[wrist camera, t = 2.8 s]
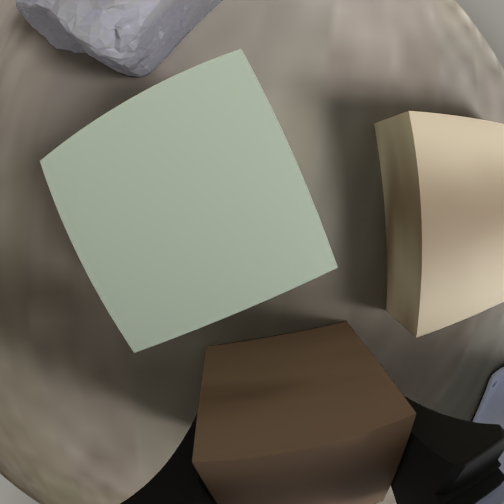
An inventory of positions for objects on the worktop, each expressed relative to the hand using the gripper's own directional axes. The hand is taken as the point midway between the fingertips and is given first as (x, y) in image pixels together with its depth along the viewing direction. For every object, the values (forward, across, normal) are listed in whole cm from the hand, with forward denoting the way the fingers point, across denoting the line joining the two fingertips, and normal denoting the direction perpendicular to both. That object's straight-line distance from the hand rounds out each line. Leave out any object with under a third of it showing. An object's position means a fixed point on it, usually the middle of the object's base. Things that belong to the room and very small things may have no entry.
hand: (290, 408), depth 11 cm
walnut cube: (+1, 0, 0) cm, 1 cm away
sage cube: (+2, +2, -9) cm, 9 cm away
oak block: (+2, -9, -7) cm, 12 cm away
